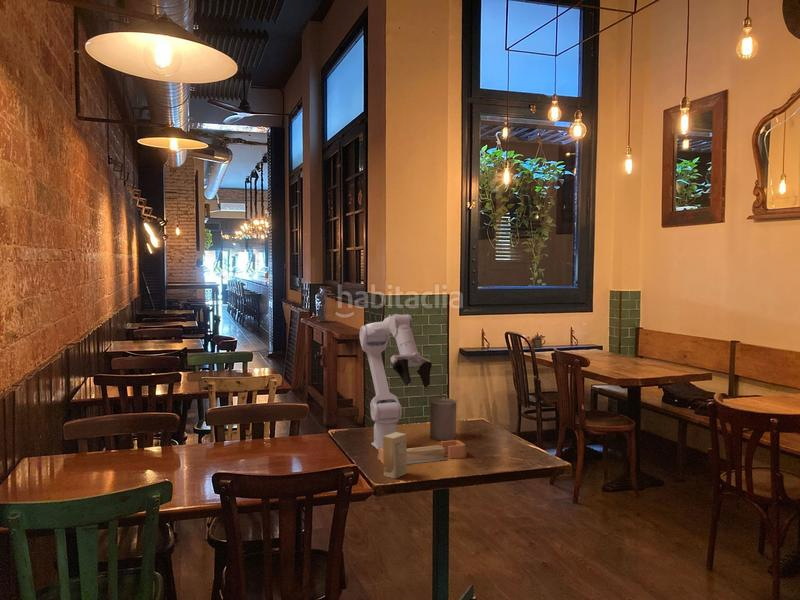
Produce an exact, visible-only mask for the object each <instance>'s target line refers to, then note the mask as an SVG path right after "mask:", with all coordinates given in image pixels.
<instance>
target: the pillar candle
mask: <svg viewBox="0 0 800 600" xmlns="http://www.w3.org/2000/svg"><path fill="white" fill-rule="evenodd" d="M429 408H430V411H429V412H430V414H429V415H430V417H429V418H430V419H429V420H430V423H429V426H430V427H429V429H430V430H429V437H430V438H431V439H432V440H434V439H435V441H441V440H447V441H451V440H452V439H453V440H456V439H457V399H453V398H447V397H445V396H442V398H441V397H440V398H439V397H438V398H433V399H430V407H429Z"/></svg>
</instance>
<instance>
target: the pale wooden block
mask: <svg viewBox="0 0 800 600" xmlns="http://www.w3.org/2000/svg"><path fill="white" fill-rule="evenodd" d="M443 457H446V454H445V448H443V447H442V446H441V444H439V445H431V446H420V447H410V448H407V461H413V460H423V459H433V458H443Z"/></svg>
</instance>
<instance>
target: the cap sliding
mask: <svg viewBox="0 0 800 600" xmlns="http://www.w3.org/2000/svg"><path fill="white" fill-rule="evenodd" d="M377 451H378V452H377V456H378V459H377V460H378V461H379V460H380V461H381V462H382V463H383V464H382V463H381V462H380V461H379V462H380V463H381V464H382V465H384V462H383V447H378V449H377Z"/></svg>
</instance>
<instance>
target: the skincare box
mask: <svg viewBox="0 0 800 600" xmlns="http://www.w3.org/2000/svg"><path fill="white" fill-rule="evenodd" d="M407 445H408V444H407V433H403V432H398V431H397V432H394V433H391V434H388V435H385V436H383V462H384V464H383V477H385V476H386V478H389V477H390V478H389V479H393V478H394V480H395V479H398V478H400V477H402V476H404V475H407V474H408V464H407V449H408V448H407Z"/></svg>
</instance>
